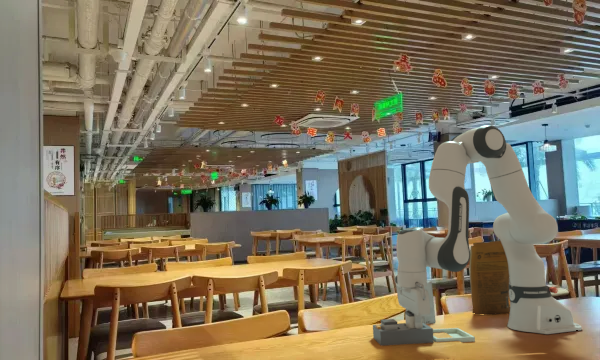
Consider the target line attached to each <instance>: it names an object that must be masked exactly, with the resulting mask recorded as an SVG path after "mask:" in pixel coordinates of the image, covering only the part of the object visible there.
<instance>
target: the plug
mask: <svg viewBox="0 0 600 360" xmlns="http://www.w3.org/2000/svg"><path fill="white" fill-rule="evenodd" d="M404 314H405V315H404V316H405V317H404V318H405V323H406V327H408V328H415V327H414V320H415V317H414V313H412V312H410V311H406V310H405V312H404ZM421 328H423V322H422V320H421Z"/></svg>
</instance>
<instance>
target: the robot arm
mask: <svg viewBox="0 0 600 360" xmlns="http://www.w3.org/2000/svg"><path fill="white" fill-rule="evenodd" d="M479 162H480V163H482V164H483V166H484V167H485V170H486V174H487V178H488V181H489V184H490V187H491V189H492V192H493V195H494V198H495V201H497V203H499V204H500V205H501V206H502V207H504V209H505V210H506V212H505V213H503V214H500V215H498V216H497V217H496V218H495V219H494V221H493V225H492V229H493V233H494V235H495V237H497V239H498V241H501V243H502V246H503V248H504V251H505V254H506V257H507V261H508V269H509V305H510V313H508V314H509V315H508V316H509V317H508V321H507V325H506V327H508V328H509V329H511V330H515V331H519V332H525V333H526V332H527V333H535V334H540V335H552V334H559V333H567V332H568V333H569V332H577V331H576V330H578V331H582V330H583V327H582V325H580V324H579V323H577V322H574V317H573V314H572V311H571V309H569V308H568V307H567V306H565V305H564V304H563V303H561V302H560V301H559V300H557V299H556V298H554V297H553V296H552V294H555V295H556V294H558V292H559V289H558V288H557V287H556V286H549V285H547V284H546V283H547V282H546V269H545V262H544V260H543V259H542V258H541V257H540V256H539V254H538V252H537V251H536V249H535V245H543V244H546V243H549V242H551V241H553V240H554V239H555V238H556V236H557V234H558V230H559V229H558V228H559V227H558V223H557V220H556V219H555V217H554V216H552V215H551V214H550V213H548V212H547V211H546V210H545V209H544V208H543V207H542V206H541V205H540V203H539V202H538V201H537V199H536V198H535V197H534V194H533V193H532V191H531V189H530V186H529V185H528V182H527V178H526V176H525V173H524V171H523V167H522V164H521V162H520V160H519V158H518V156H517V154H516V152H515V150H514V148H513V147H512V146H511V144H510V143H509V142H507V141H506V138H505V136H504V134H503V132H502V130H500V128H498V127H497V126H496V125H495V126H494V125H481V126H479V127H475V128H472V129H469V130H467V131H464V132H462V133H461V134H458V135H456V136H454V137H453V138H452V139H450V141H445V142H441V144H440V145H438V147H437V149H436V151H435V154H434V157H433V160H432V163H431V167H430V171H429V177H428V189H429V192H430V193H431V194H432V196H434V198H435V199H437V200H439V201H440V202H442V203H444V204H445V205H446V206H447V209H448V227H447V234H446V236H445V237H438V236H436V237H435V236H434V235H431V234H429V233H428V232H426V231H424V230H423V229H422V227H419V226H412V227H406V228H403V229H401V230H399V232H398V233H397V236H396V248H395V249H396V250H395V251H396V259H397V262H398V264H397V272H396V273H397V274H396V275H395V276H394V283H395V284H396V293H397V301H398V304H399V306H401V307H402V308H404V309H405V311H410V312H412V313H414V317H415V320H414V327H415V328H416V329H418V328H421V320H422V317H426V316H430V312H431V311H430V300H429V294H428V291H427V290H426V289H425V288H424V287H426V286H427V281H428V276H427V275H428V272H427V270H428V269H427V267H428V268H434V269H440V270H445V271H449V272H454V273H458V272H462V270H464V269H465V268H466V267H467V266H468V265H469V263H470V248H471V247H470V242H469V241H470V240H469V228H470V227H469V226H470V225H469V224H470V197H469V194H468V192H467V190H466V187H465V180H466V179H465V178H466V173H467V166H468V165H469V164H475V163H479ZM581 329H582V330H581Z"/></svg>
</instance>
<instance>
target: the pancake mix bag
mask: <svg viewBox="0 0 600 360" xmlns="http://www.w3.org/2000/svg"><path fill="white" fill-rule="evenodd" d="M469 248H470V259H469V263H468V265H469V267H468V268H469V271H468V272H469V281H470V285H469V286H470V292H471V293H470V294H471V295H470V296H471V304H472V311H471V313H475V314H492V315H499V313H507V314H510V313H509V312H510V299H509V284H510V281H509V269H508V261H507V257H506V254H505V251H504V248H503V246H502V243H501V241H500V240H493V241H492V240H491V241H483V242H473V243H472V245H470V247H469ZM475 314H474V315H475Z"/></svg>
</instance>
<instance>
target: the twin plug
mask: <svg viewBox="0 0 600 360" xmlns="http://www.w3.org/2000/svg"><path fill="white" fill-rule="evenodd" d="M380 324H381V329H383V330H390V329H398V325H397V324H398V321H397V320H396V319H394V318H389V319H386V318H385V319H380Z"/></svg>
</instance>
